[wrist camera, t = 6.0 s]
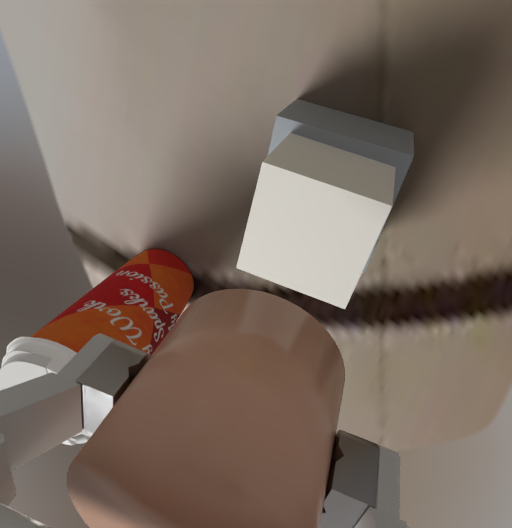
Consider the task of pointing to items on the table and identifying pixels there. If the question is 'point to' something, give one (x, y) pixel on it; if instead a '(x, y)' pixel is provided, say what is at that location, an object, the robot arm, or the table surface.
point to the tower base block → (348, 137)
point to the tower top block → (316, 218)
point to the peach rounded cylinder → (219, 424)
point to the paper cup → (106, 319)
